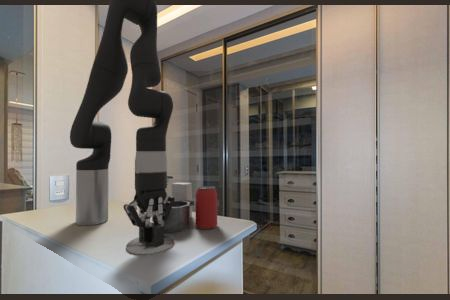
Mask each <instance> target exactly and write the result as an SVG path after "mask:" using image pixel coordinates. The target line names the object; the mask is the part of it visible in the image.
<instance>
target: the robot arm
mask: <svg viewBox="0 0 450 300" xmlns="http://www.w3.org/2000/svg"><path fill="white" fill-rule="evenodd" d="M125 20H127V21H129V22H130V23H133V24H134V25H136V26H138V27H139V29H140V33H141V34H140V36H139V37H137V39H136V40H135V42H133V45H132V46H131V49H130V54H129V60H130V70H131V78H132V80H131V85H130V92H129V95H128V99H127V106H128V109H129V111H130V113H132V115H134V116H135V117H138V118H139V117H140V118H148V119H154V122H153V124H152V125H150V126H144V127H138V128H137V129H136V133H135V134H136V135H135V150H136V151H135V159H134V190H135V194H134V197H133V200H132V201H131V202H129V203H125V204H124V205H123V206H122V207H123V210H124V212H125V214H126V216H127V217H128V219H129V221H130V223H131V224H132V226H135V227H137V228H139V227H140V228H141V240H142V241H143V242H144V243H149V242H150V227H149V226H150V222H151V220H152V223H155V224H159V225H161V223H162V221H164V220H167V219H168V216H169V214H170V211H171V208H172V206H173V203H174V200H175V198H174V197H172V196H169V195H168V194H167V192H166V189H167V187H168V185H167V184H168V171H167V170H168V169H167V168H168V161H167V145H166V144H167V139H166V138H167V132H168V129H169V124H170V120H171V117H172V113H173V110H174V101H173V98H172V96H171V95H170V94H169V93H168V92H167V91H163V90H159V89H152V88H153V87H157V86H158V85H159V84H160V82H161V81H162V75H161V73H162V71H161V68H160V67H161V66H160V61H159V56H158V47H157V46H158V45H157V44H158V43H157V42H158V6H157V2H156V0H109V4H108V8H107V14H106V19H105V23H104V28H103V31H102V35H101V39H100V42H99V46H98V48H97V51H96V55H95V57H94V60H93V62H92V67H91V69H90V74H89V77H88V81H87V84H86V88H85V91H84V95H83V98H82V100H81V102H80V105H79V108H78V110H77V112H76V114H75V117H74V119H73V122H72V124H71V128H70V131H69V141H70V144H71V145H72V147H74V148H76V149H86V150H87V149H88V150H92V153H91V154H90V155H89V156H86V157H85V158H83V159H80V160H78V161H76V166H75V171H76V173H75V180H76V181H75V183H76V185H75V189H76V190H75V193H76V194H75V224H76V225H77V226H93V225H98V224H102V223H105V222H107V221H108V220H109V166H110V161H111V149H112V130H111V127H110V126H109V124H108V123H107V122H102V121H95V118H96V117H97V114H98V113H99V112H100V111H101V109H102V108H103V107H104V106H106V105H107V104H108V103H109V102H110V101H112V100H113V99H115V97H116V96H118V94H120V93H121V91H122V89H123V87H124V85H125V81H126V78H127V75H128V71H129V66H128V60H127V55H126V52H125V48H124V44H123V37H122V35H123V34H122V33H123V32H122V31H123V24H124V21H125ZM163 202H164V203H163ZM162 204H163V205H162ZM165 210H166V211H165Z"/></svg>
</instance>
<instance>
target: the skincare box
mask: <svg viewBox="0 0 450 300" xmlns="http://www.w3.org/2000/svg"><path fill="white" fill-rule="evenodd" d="M192 192H193V187H192V182H173V183H171V197H174V198H175V200H174V201H186V200H190V201H193V193H192ZM192 217H193V205H192V206H190V218H192Z"/></svg>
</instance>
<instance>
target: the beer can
mask: <svg viewBox="0 0 450 300" xmlns="http://www.w3.org/2000/svg"><path fill="white" fill-rule="evenodd" d="M195 192H196V193H195V227H197V228H198V229H200V230H211V229H214V228H216V227H218V191H217V189H216V186H212V185H203V186H202V185H201V186H198V187H197V190H196V191H195Z"/></svg>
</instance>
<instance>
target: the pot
mask: <svg viewBox="0 0 450 300" xmlns="http://www.w3.org/2000/svg"><path fill="white" fill-rule="evenodd" d="M163 203H164V202H163ZM162 205H163V204H162ZM194 205H195V201H194V200H192V201H190V200H186V201H174V203H173V206H172V208H171V211H170V214H169V216H168V219H167V220H164V221H162V223H161V225H162V226H164V234H173V233H174V234H175V233H177V234H179V233H181V232H185V231H186V230H187V231H188V230H190V229H191V228H190V226H191V217H190V206H192V207H193V206H194ZM165 211H166V210H165Z"/></svg>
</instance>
